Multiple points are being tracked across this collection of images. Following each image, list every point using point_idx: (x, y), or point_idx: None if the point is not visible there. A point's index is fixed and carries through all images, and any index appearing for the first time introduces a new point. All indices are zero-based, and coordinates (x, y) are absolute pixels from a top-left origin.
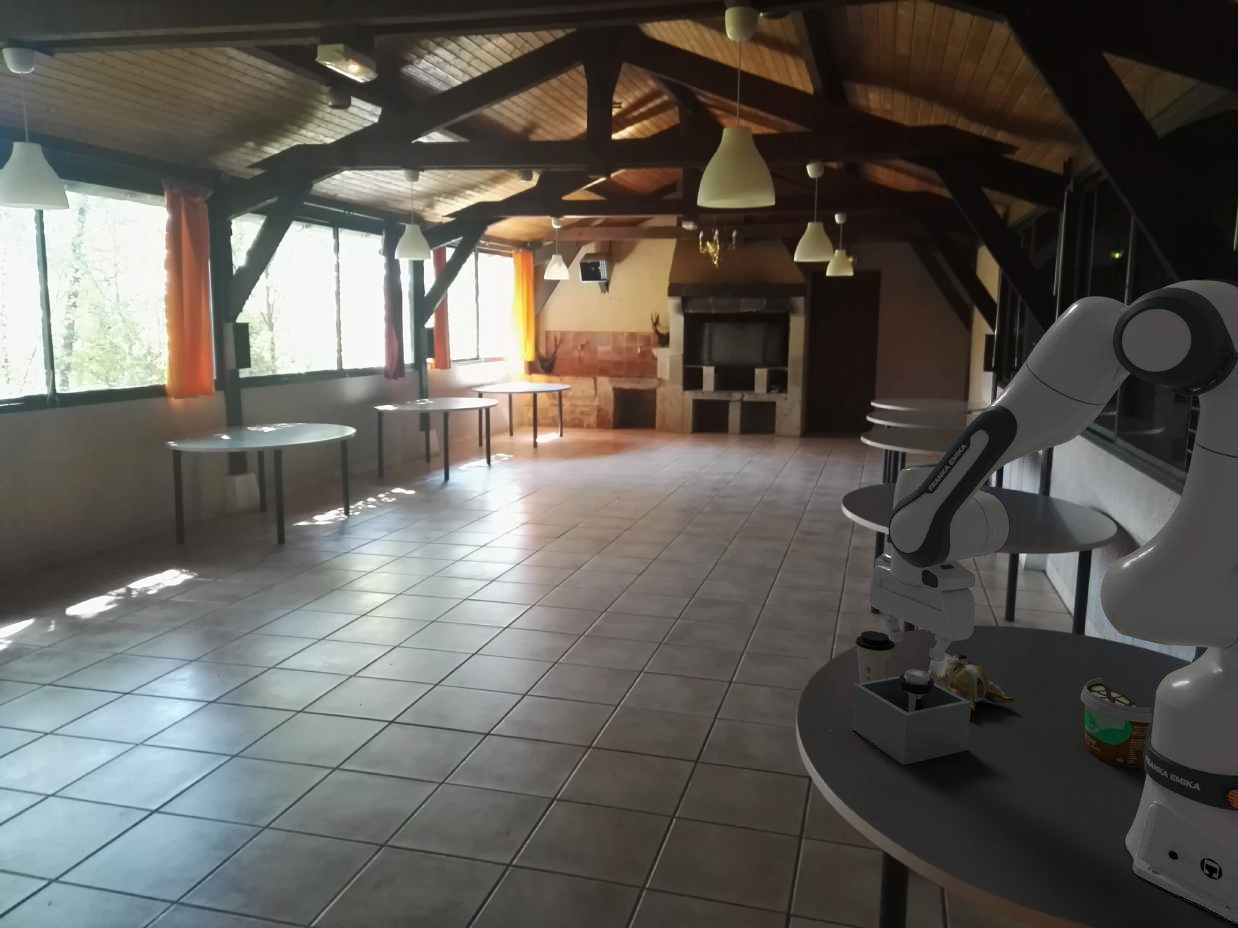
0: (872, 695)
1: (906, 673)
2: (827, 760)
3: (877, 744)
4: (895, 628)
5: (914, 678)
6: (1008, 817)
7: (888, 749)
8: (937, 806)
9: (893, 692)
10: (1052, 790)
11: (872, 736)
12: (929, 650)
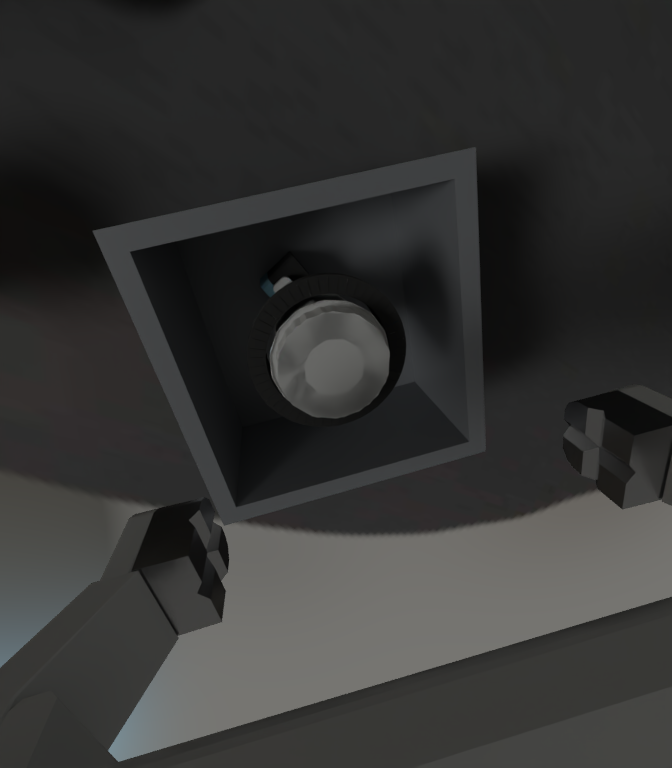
0: (324, 495)
1: (324, 415)
2: (365, 515)
3: None
4: (148, 620)
5: (373, 396)
6: (660, 270)
7: None
8: (571, 386)
9: (190, 351)
10: (647, 63)
11: None
12: (610, 498)
